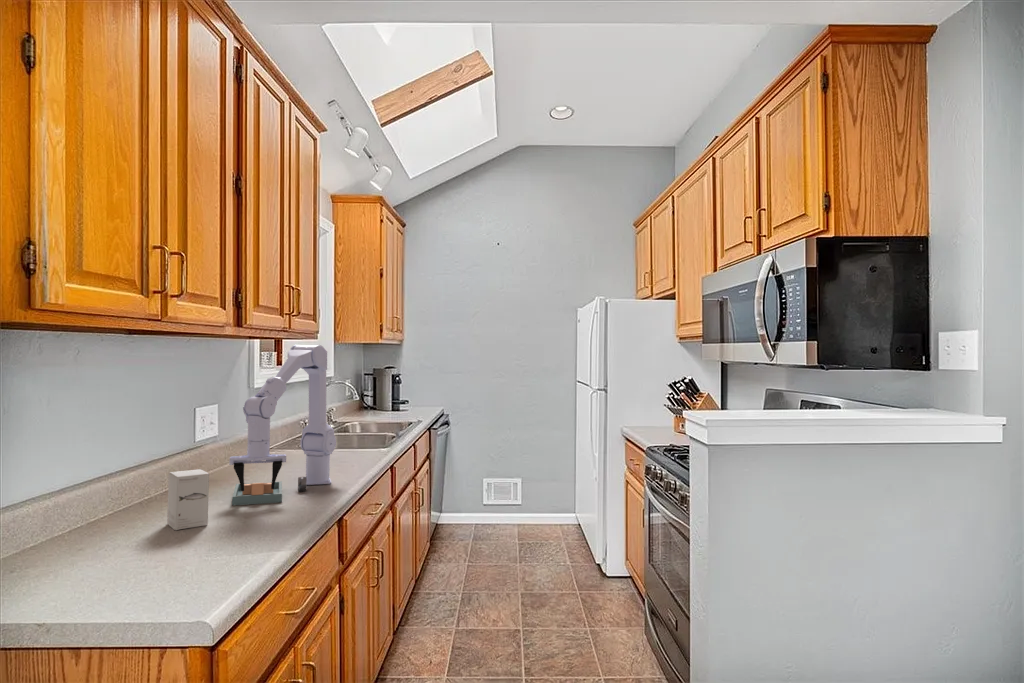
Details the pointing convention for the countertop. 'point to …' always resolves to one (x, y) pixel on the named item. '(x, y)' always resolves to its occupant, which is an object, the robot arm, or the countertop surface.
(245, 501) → the tray
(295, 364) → the robot arm
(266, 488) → the collar
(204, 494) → the supplement box
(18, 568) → the countertop surface
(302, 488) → the grey metal cylinder
